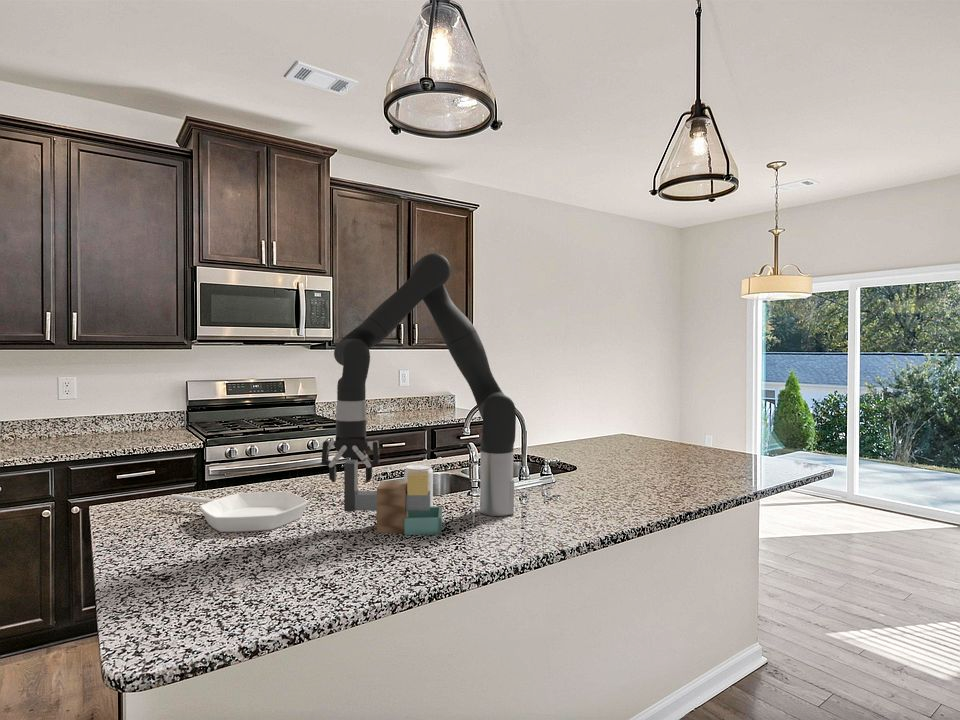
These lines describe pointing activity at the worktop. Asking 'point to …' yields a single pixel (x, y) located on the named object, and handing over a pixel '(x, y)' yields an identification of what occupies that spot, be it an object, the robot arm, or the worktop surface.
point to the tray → (424, 522)
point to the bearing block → (391, 506)
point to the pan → (250, 510)
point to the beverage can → (421, 468)
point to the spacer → (418, 482)
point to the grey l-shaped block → (373, 494)
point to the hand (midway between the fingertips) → (350, 481)
